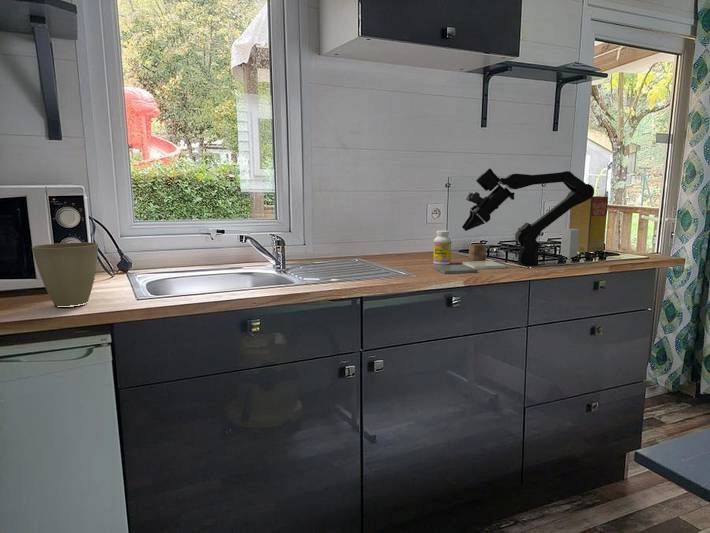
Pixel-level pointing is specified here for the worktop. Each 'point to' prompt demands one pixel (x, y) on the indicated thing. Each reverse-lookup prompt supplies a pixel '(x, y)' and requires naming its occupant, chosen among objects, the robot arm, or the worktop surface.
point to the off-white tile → (483, 264)
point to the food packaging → (590, 223)
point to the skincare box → (569, 243)
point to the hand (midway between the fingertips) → (463, 229)
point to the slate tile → (454, 269)
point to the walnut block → (477, 252)
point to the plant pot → (67, 271)
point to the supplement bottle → (442, 248)
